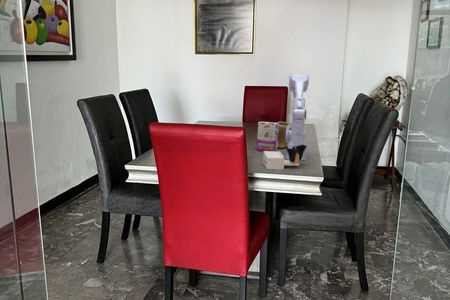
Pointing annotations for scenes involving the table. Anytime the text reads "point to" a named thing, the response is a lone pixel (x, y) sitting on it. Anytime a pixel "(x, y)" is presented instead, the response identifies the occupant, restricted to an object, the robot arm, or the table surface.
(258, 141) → the candy bar box
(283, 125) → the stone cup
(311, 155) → the table surface
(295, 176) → the table surface
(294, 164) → the cream slab with block
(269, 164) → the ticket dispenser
